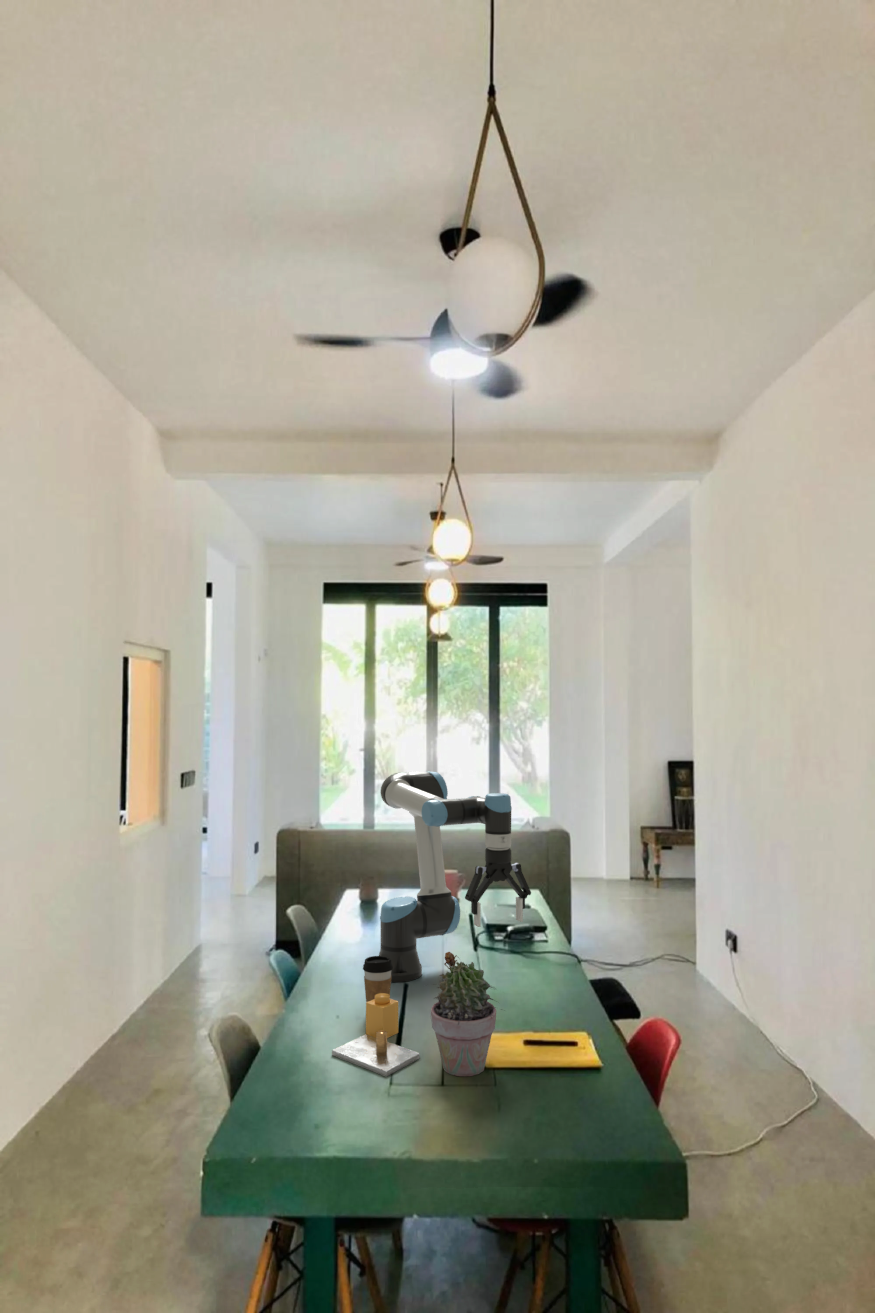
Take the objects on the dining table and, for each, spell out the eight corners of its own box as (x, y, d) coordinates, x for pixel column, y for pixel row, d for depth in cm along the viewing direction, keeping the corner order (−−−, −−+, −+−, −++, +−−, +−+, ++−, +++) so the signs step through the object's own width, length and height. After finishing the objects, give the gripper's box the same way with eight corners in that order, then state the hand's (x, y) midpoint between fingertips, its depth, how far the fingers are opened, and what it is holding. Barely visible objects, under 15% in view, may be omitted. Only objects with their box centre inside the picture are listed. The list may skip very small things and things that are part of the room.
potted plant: (485, 1095, 165) (484, 977, 167) (411, 1073, 175) (411, 962, 177) (521, 1063, 180) (520, 956, 182) (451, 1044, 190) (450, 943, 192)
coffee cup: (369, 1022, 205) (369, 965, 206) (357, 1011, 212) (358, 956, 213) (397, 1016, 208) (397, 960, 210) (385, 1006, 216) (385, 952, 217)
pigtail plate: (331, 1055, 184) (332, 1029, 185) (366, 1039, 194) (366, 1014, 194) (386, 1077, 173) (386, 1048, 174) (419, 1058, 183) (419, 1032, 183)
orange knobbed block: (365, 1034, 197) (366, 996, 197) (381, 1027, 201) (381, 990, 202) (382, 1040, 193) (382, 1002, 194) (398, 1032, 198) (398, 995, 198)
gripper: (464, 853, 209) (464, 931, 208) (542, 847, 219) (542, 921, 217) (453, 848, 216) (453, 924, 215) (529, 843, 226) (529, 915, 224)
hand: (498, 923), depth 216 cm, fingers open, 13 cm apart
